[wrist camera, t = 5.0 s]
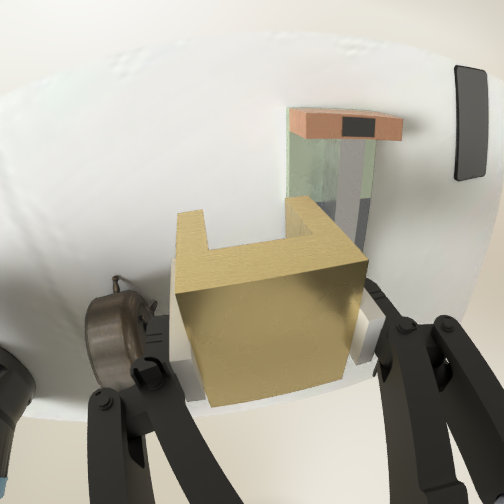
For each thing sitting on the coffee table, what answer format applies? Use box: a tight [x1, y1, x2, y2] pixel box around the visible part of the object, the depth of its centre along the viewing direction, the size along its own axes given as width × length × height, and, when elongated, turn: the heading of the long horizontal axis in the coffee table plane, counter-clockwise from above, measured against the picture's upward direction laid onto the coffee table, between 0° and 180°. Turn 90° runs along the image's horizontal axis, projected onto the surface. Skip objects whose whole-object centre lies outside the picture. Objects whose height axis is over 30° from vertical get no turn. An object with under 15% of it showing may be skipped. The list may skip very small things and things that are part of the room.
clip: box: [175, 196, 369, 408], centre depth 14 cm, size 7×6×6 cm
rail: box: [286, 108, 403, 252], centre depth 30 cm, size 26×9×5 cm, turn 2°
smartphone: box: [454, 65, 488, 181], centre depth 28 cm, size 7×1×15 cm
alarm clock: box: [85, 276, 157, 392], centre depth 25 cm, size 11×5×16 cm, turn 8°
